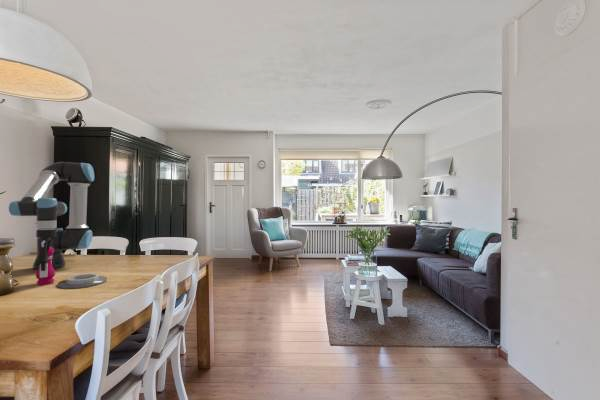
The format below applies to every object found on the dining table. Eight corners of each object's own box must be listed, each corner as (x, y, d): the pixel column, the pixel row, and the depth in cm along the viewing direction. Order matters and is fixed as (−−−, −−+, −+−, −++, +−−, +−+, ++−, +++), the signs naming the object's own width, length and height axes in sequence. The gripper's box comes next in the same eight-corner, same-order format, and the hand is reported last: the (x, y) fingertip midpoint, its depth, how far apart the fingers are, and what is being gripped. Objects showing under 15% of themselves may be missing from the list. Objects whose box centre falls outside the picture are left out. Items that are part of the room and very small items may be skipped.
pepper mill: (46, 285, 142) (47, 244, 142) (31, 285, 143) (32, 244, 143) (58, 281, 150) (59, 242, 150) (44, 281, 150) (45, 241, 150)
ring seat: (62, 280, 153) (62, 274, 153) (108, 276, 162) (108, 270, 162) (52, 290, 135) (52, 284, 135) (105, 285, 145) (105, 279, 145)
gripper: (42, 227, 153) (41, 271, 153) (30, 231, 136) (29, 281, 136) (60, 227, 157) (59, 270, 157) (51, 230, 139) (50, 279, 139)
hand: (45, 275), depth 146 cm, fingers closed on pepper mill, 7 cm apart
